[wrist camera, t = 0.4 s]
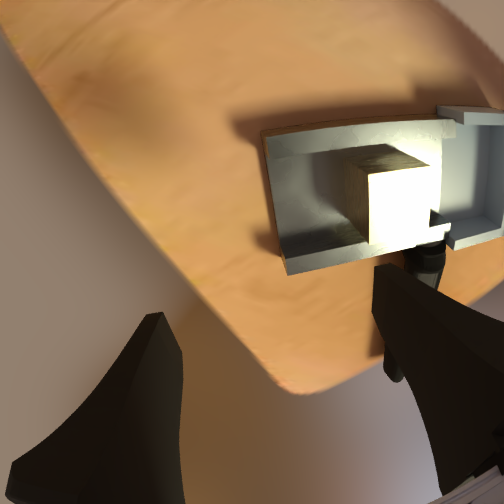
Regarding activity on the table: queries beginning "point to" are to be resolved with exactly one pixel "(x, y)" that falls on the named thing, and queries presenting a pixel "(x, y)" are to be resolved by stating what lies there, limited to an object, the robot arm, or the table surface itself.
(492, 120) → the tray
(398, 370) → the electric trimmer
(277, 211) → the slot bed
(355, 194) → the yellow cube
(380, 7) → the table surface
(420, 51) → the table surface
